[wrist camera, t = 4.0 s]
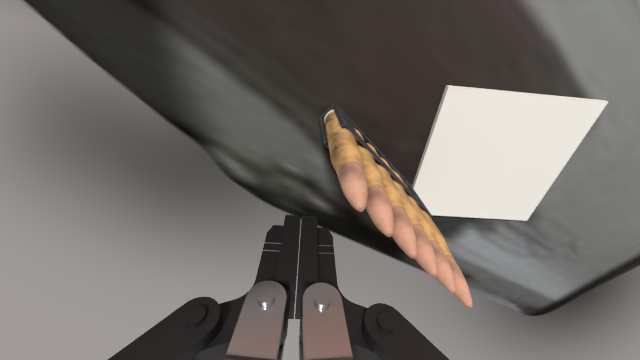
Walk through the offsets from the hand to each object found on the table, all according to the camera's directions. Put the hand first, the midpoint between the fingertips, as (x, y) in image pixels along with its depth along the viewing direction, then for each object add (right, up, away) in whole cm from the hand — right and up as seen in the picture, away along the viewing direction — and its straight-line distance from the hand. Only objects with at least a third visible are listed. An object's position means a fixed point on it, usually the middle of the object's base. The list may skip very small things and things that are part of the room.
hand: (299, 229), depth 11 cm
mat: (+16, +4, +10) cm, 20 cm away
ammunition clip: (+5, +5, +9) cm, 12 cm away
